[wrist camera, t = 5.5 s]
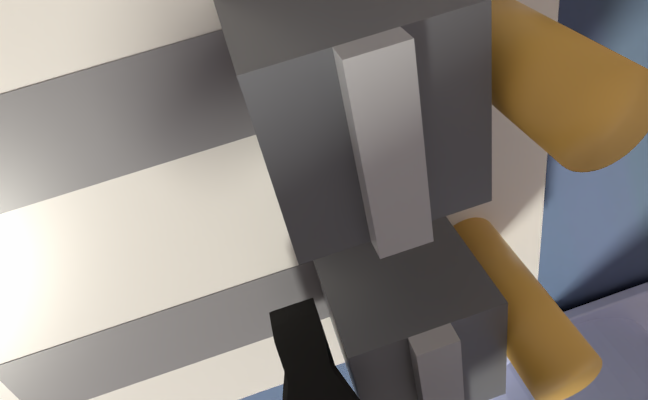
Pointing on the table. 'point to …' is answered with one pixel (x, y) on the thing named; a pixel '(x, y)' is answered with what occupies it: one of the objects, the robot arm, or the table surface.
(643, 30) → the table surface
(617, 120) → the switch panel
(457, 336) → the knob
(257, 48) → the middle knob
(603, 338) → the robot arm
